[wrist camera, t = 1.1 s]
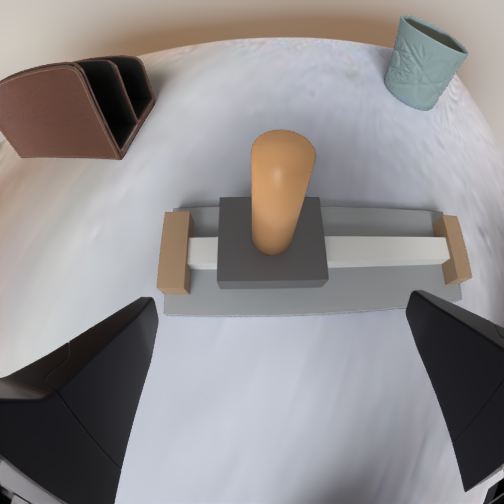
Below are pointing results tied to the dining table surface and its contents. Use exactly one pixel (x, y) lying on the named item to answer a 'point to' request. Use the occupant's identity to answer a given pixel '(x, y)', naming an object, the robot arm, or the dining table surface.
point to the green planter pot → (422, 63)
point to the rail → (339, 280)
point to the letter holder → (76, 108)
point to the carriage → (274, 221)
